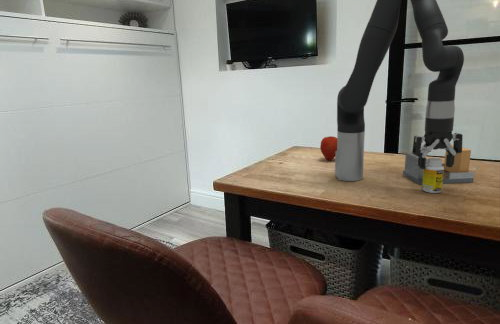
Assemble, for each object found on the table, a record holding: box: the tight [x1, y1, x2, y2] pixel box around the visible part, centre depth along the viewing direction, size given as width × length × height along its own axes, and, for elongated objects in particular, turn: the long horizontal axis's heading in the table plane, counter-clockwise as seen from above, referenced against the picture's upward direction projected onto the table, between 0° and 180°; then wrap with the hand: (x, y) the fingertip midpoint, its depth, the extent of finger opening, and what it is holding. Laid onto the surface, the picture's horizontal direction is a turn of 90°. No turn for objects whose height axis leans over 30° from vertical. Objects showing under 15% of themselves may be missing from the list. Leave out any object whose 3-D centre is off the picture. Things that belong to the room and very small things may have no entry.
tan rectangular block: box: [443, 144, 472, 173], centre depth 116 cm, size 3×9×9 cm, turn 0°
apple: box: [319, 136, 337, 161], centre depth 147 cm, size 9×8×11 cm
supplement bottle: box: [421, 157, 444, 194], centre depth 105 cm, size 6×6×10 cm
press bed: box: [402, 152, 475, 186], centre depth 117 cm, size 18×12×8 cm, turn 90°
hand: (435, 167), depth 105 cm, fingers open, 8 cm apart
